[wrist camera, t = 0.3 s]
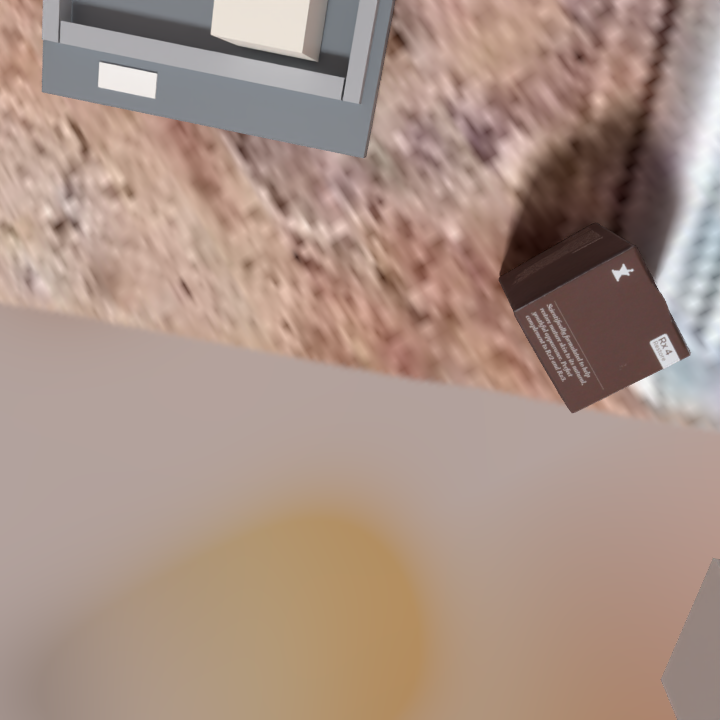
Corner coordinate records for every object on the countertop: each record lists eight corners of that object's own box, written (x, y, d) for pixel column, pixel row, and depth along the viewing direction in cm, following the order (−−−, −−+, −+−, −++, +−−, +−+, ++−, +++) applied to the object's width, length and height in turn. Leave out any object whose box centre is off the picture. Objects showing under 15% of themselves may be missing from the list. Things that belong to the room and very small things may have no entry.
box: (495, 275, 38) (509, 309, 31) (597, 218, 36) (636, 240, 29) (546, 365, 39) (570, 417, 32) (646, 314, 38) (694, 357, 31)
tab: (249, -46, 32) (221, -72, 28) (332, -30, 32) (317, -53, 28) (238, 45, 33) (210, 34, 29) (318, 62, 33) (302, 53, 29)
